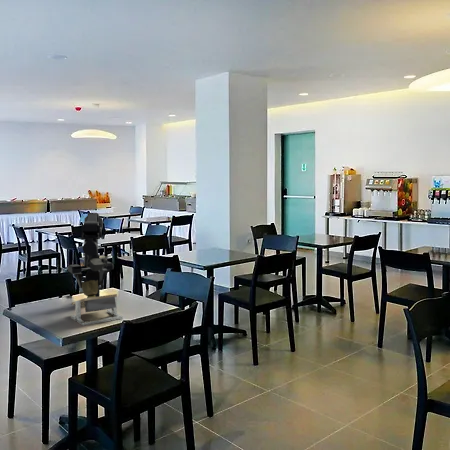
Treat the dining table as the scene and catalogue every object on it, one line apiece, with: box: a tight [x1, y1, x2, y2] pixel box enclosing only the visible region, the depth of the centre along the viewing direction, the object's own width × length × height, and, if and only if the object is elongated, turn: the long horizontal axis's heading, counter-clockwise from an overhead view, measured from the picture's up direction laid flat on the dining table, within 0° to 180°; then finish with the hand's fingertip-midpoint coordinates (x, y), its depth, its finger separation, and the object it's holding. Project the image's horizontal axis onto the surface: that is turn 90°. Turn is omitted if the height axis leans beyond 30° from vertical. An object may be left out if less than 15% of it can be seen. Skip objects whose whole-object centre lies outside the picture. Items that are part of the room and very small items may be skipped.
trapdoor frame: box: [70, 296, 124, 326], centre depth 217 cm, size 13×18×8 cm
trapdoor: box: [71, 293, 118, 313], centre depth 219 cm, size 16×14×6 cm
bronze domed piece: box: [81, 280, 98, 298], centre depth 222 cm, size 8×7×8 cm
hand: (91, 286), depth 221 cm, fingers open, 9 cm apart
